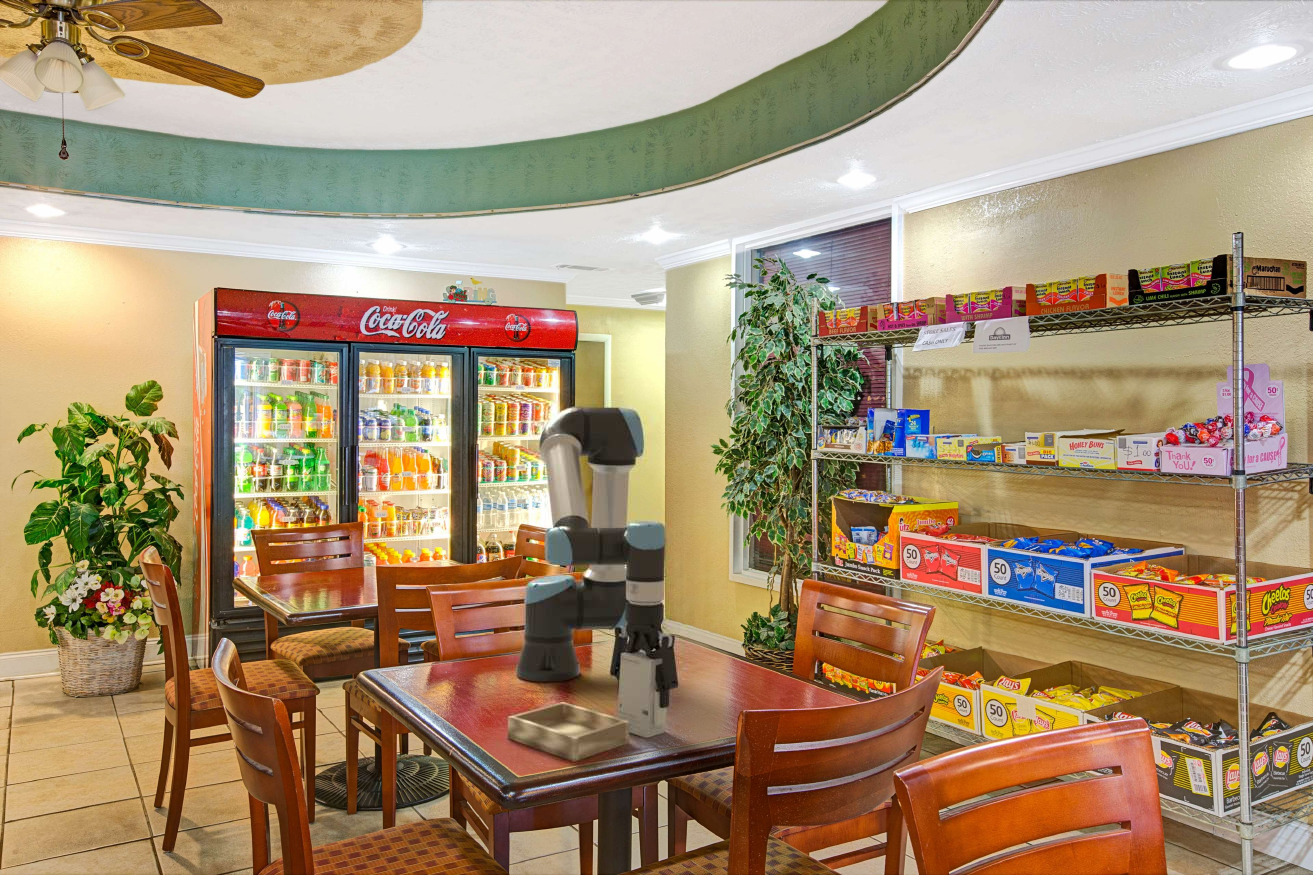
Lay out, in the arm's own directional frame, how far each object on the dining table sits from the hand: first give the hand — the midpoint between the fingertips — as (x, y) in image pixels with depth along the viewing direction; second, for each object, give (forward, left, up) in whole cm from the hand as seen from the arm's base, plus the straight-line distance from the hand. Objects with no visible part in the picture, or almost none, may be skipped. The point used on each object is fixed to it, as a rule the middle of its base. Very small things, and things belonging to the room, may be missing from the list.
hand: (642, 718), depth 173 cm
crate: (-6, -14, -2) cm, 15 cm away
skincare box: (0, 0, -3) cm, 3 cm away
